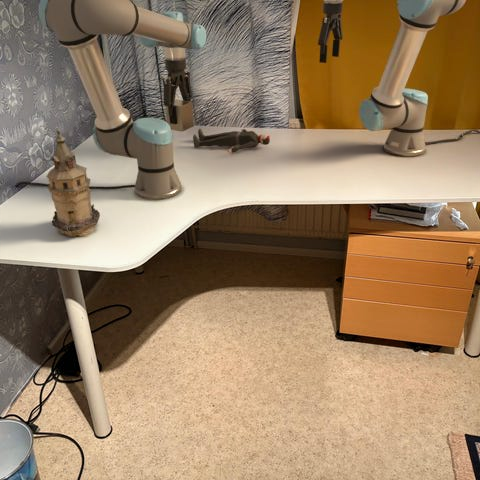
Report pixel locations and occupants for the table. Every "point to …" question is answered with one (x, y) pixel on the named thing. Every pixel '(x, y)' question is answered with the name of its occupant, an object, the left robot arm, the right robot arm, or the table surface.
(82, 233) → the miniature building
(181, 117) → the block
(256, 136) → the toy
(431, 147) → the table surface
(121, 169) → the table surface
